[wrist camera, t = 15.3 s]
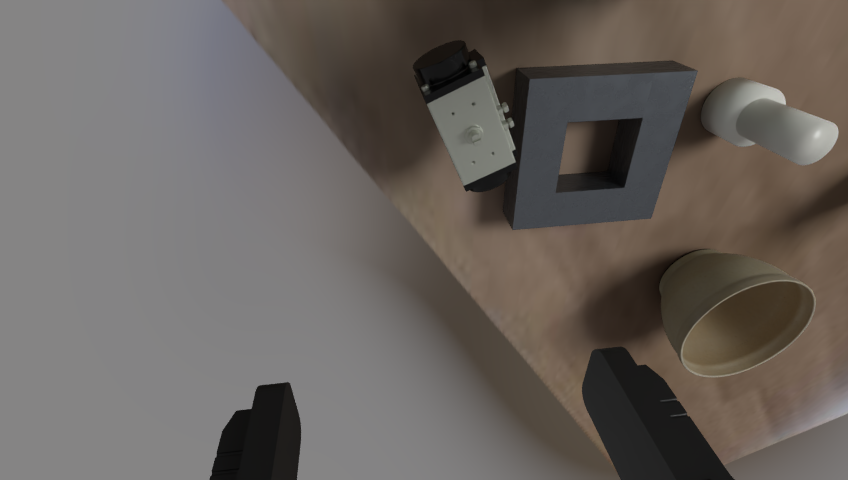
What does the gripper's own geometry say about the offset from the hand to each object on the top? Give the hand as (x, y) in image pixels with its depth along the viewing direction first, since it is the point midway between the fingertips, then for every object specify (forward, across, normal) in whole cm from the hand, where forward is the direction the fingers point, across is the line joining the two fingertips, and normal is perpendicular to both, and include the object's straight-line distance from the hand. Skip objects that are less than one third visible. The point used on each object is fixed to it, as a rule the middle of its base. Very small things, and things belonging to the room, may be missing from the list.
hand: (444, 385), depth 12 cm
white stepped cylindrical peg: (+36, -37, +6) cm, 52 cm away
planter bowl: (+36, -41, +30) cm, 62 cm away
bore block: (+36, -21, +9) cm, 43 cm away
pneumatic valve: (+36, -7, +3) cm, 37 cm away
